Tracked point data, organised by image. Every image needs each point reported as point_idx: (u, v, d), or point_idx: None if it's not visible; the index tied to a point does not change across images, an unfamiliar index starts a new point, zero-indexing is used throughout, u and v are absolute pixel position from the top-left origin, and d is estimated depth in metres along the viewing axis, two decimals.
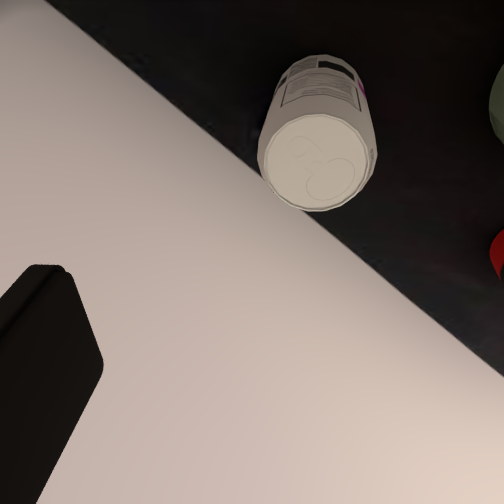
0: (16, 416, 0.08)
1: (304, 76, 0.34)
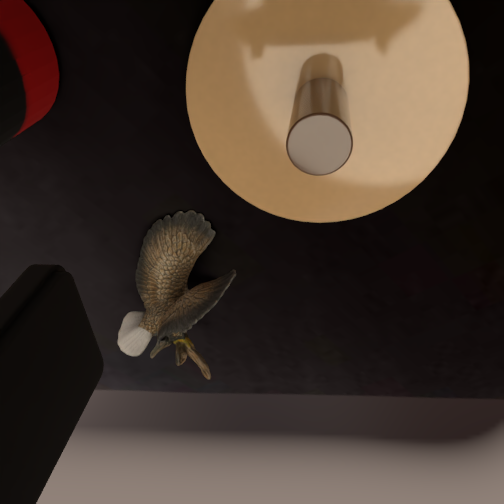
0: (16, 415, 0.08)
1: None
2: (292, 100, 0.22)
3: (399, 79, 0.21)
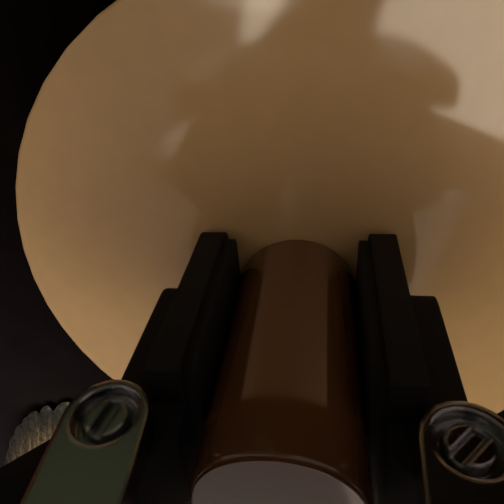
0: (217, 367, 0.08)
1: None
2: None
3: (470, 250, 0.09)
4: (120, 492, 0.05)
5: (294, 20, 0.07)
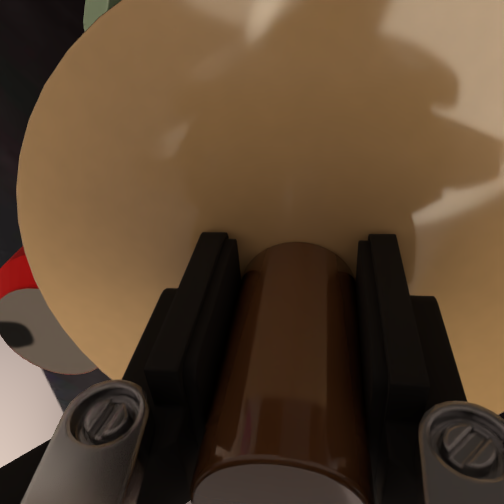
0: (218, 367, 0.08)
1: None
2: None
3: (470, 252, 0.09)
4: (120, 492, 0.05)
5: (294, 24, 0.07)
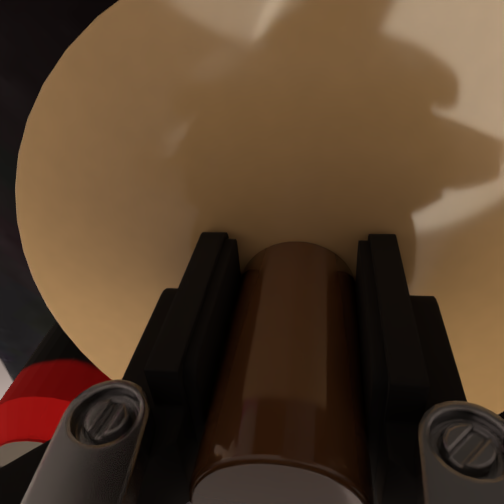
0: (218, 366, 0.08)
1: None
2: None
3: (470, 252, 0.09)
4: (121, 492, 0.05)
5: (293, 22, 0.07)
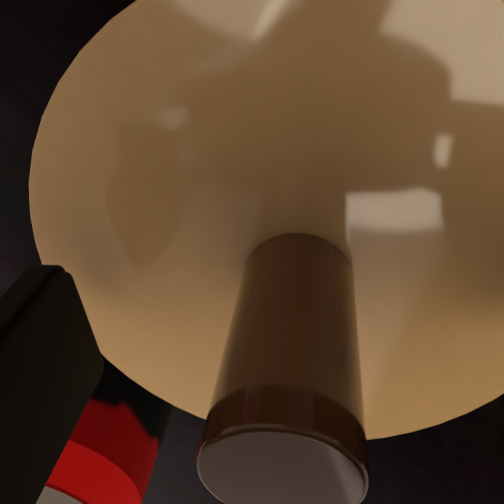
0: (16, 415, 0.08)
1: None
2: (241, 267, 0.11)
3: (461, 243, 0.10)
4: None
5: (294, 26, 0.08)
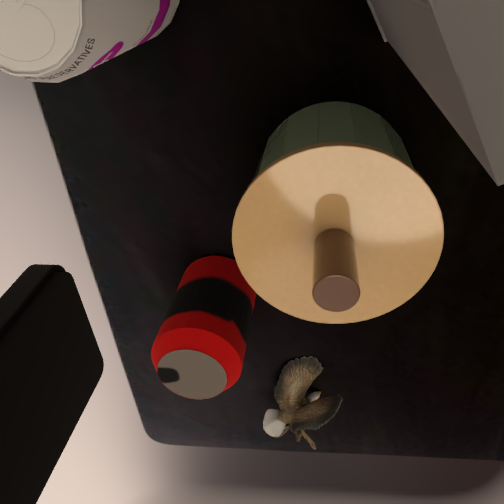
0: (16, 415, 0.08)
1: None
2: (312, 241, 0.29)
3: (393, 232, 0.28)
4: None
5: (338, 164, 0.26)
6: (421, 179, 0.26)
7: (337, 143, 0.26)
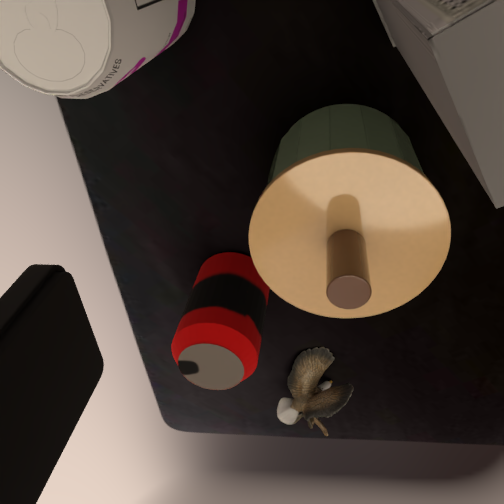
0: (17, 415, 0.08)
1: None
2: (325, 241, 0.31)
3: (402, 232, 0.29)
4: None
5: (350, 170, 0.28)
6: (429, 182, 0.27)
7: (349, 149, 0.27)
